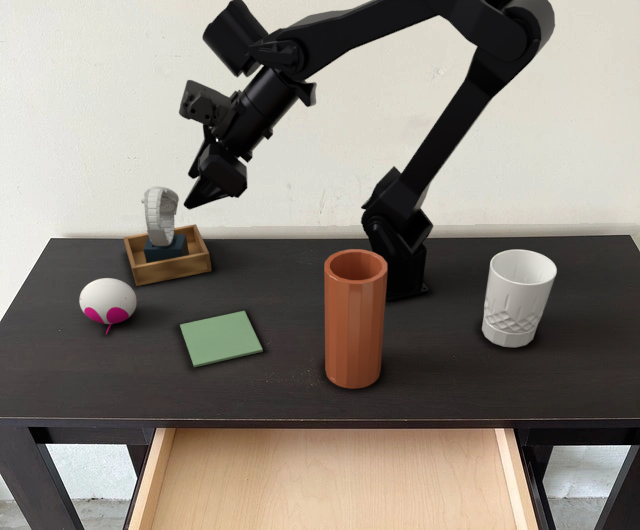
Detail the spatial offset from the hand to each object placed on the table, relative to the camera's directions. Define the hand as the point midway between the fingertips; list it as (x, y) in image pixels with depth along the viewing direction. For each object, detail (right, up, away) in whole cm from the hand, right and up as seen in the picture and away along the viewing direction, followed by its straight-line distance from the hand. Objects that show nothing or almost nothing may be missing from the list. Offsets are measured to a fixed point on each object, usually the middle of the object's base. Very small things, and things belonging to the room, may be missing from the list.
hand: (188, 191), depth 92 cm
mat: (+5, -21, -6) cm, 23 cm away
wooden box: (-5, -8, +8) cm, 12 cm away
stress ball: (-10, -19, -2) cm, 21 cm away
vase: (+23, -26, -10) cm, 36 cm away
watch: (-5, -8, +7) cm, 12 cm away
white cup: (+43, -21, -5) cm, 48 cm away
